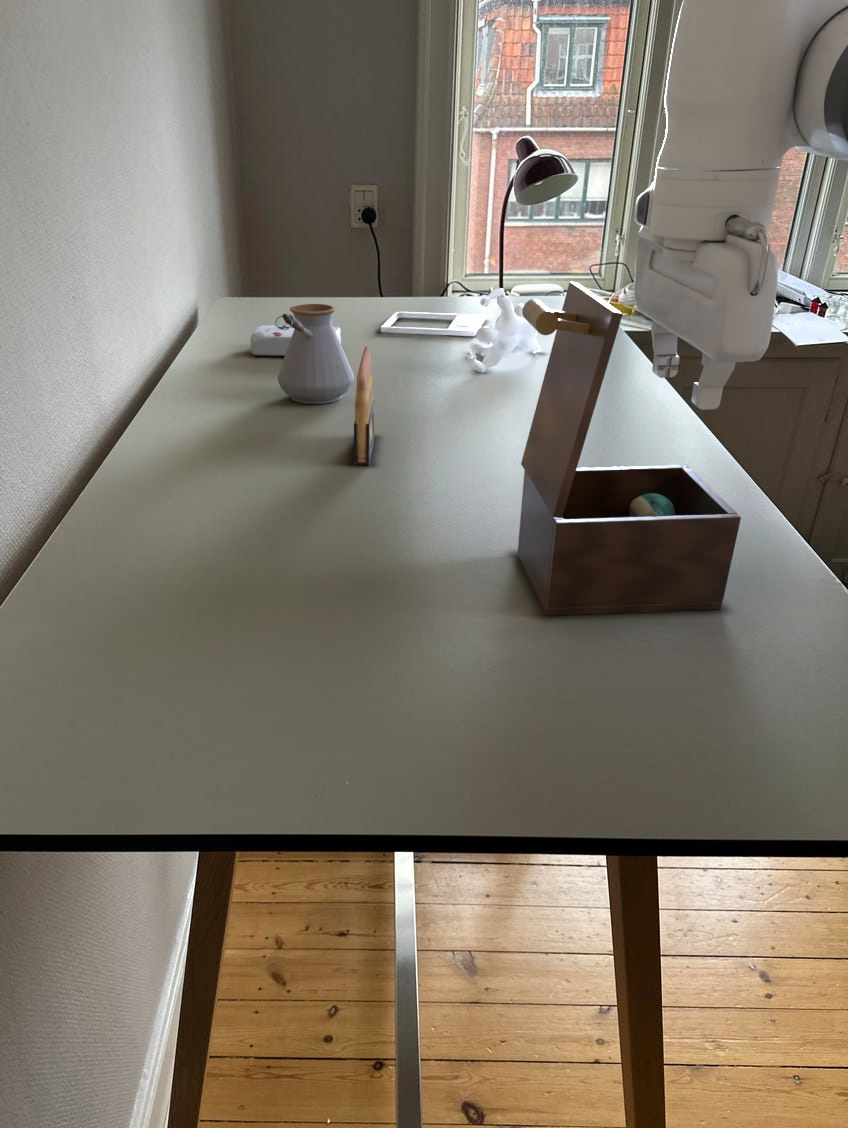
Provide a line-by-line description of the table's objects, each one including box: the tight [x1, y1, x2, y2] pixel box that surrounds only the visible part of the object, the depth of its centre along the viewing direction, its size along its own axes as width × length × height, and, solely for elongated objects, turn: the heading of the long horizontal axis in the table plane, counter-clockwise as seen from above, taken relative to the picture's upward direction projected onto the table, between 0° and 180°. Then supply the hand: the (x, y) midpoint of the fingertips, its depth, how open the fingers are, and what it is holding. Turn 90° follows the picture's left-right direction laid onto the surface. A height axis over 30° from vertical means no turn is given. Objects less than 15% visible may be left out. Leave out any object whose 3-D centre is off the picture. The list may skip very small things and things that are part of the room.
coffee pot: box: [274, 303, 355, 405], centre depth 130 cm, size 21×12×15 cm, turn 169°
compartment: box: [517, 464, 742, 617], centre depth 84 cm, size 16×13×9 cm
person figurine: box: [466, 287, 543, 373], centre depth 151 cm, size 13×13×18 cm
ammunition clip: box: [353, 346, 375, 466], centre depth 114 cm, size 11×2×12 cm, turn 176°
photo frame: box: [380, 311, 486, 337], centre depth 179 cm, size 15×1×18 cm
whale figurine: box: [629, 493, 675, 517], centre depth 86 cm, size 6×7×4 cm
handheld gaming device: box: [249, 324, 342, 357], centre depth 161 cm, size 9×15×4 cm, turn 82°
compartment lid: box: [520, 281, 624, 518], centre depth 76 cm, size 16×13×5 cm
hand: (683, 390), depth 77 cm, fingers open, 8 cm apart
